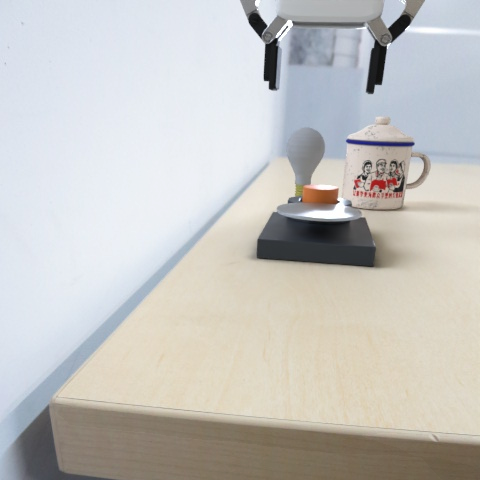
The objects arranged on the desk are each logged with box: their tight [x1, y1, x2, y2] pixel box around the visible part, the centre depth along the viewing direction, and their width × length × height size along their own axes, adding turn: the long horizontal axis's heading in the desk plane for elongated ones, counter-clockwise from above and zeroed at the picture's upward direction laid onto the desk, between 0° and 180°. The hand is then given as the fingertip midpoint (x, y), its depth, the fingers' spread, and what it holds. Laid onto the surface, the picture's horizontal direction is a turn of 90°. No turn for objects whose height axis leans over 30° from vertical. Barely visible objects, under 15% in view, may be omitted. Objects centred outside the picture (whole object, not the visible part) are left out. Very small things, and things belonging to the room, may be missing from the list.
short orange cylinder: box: [302, 184, 340, 204], centre depth 51 cm, size 4×4×2 cm
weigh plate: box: [276, 202, 363, 222], centre depth 45 cm, size 8×8×1 cm
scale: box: [256, 196, 377, 267], centre depth 48 cm, size 14×10×4 cm
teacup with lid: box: [341, 116, 432, 211], centre depth 68 cm, size 12×9×12 cm
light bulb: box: [285, 126, 326, 197], centre depth 70 cm, size 5×5×10 cm
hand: (321, 91), depth 50 cm, fingers open, 9 cm apart
